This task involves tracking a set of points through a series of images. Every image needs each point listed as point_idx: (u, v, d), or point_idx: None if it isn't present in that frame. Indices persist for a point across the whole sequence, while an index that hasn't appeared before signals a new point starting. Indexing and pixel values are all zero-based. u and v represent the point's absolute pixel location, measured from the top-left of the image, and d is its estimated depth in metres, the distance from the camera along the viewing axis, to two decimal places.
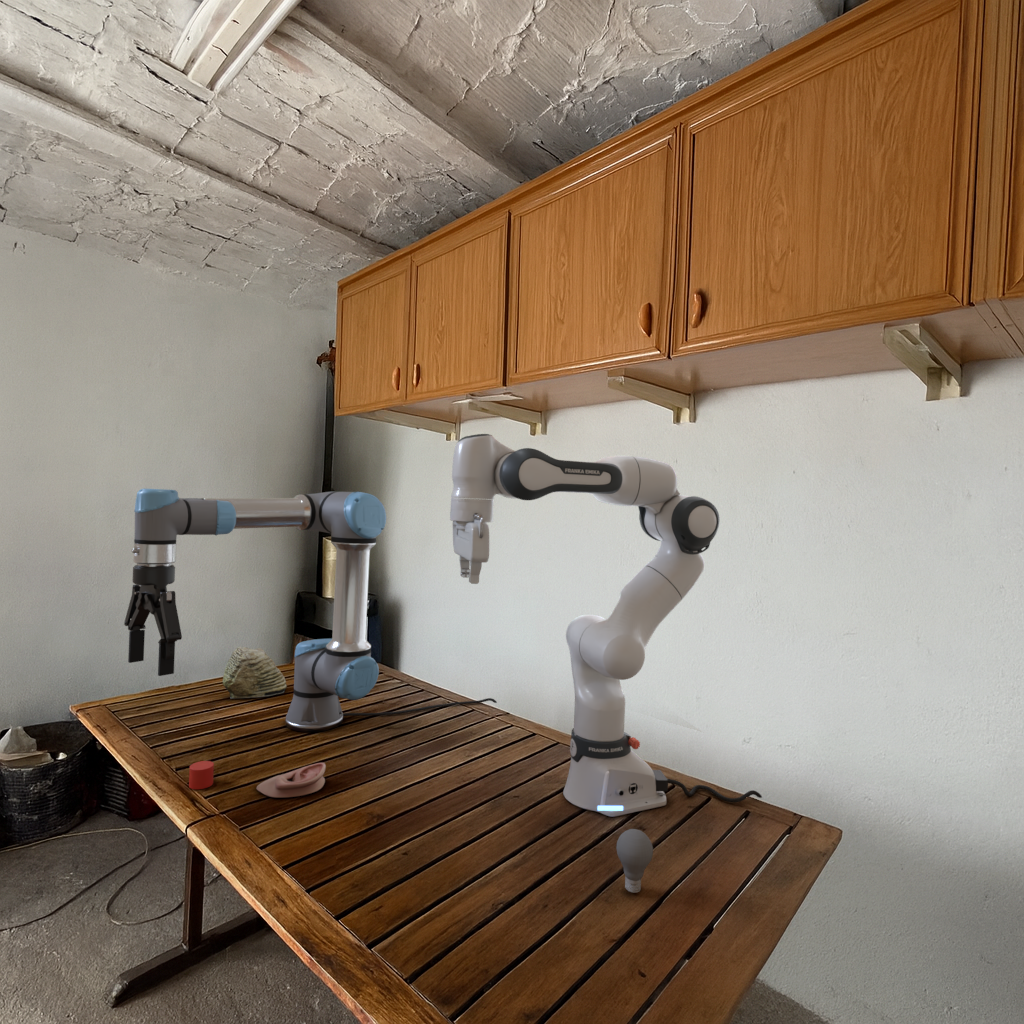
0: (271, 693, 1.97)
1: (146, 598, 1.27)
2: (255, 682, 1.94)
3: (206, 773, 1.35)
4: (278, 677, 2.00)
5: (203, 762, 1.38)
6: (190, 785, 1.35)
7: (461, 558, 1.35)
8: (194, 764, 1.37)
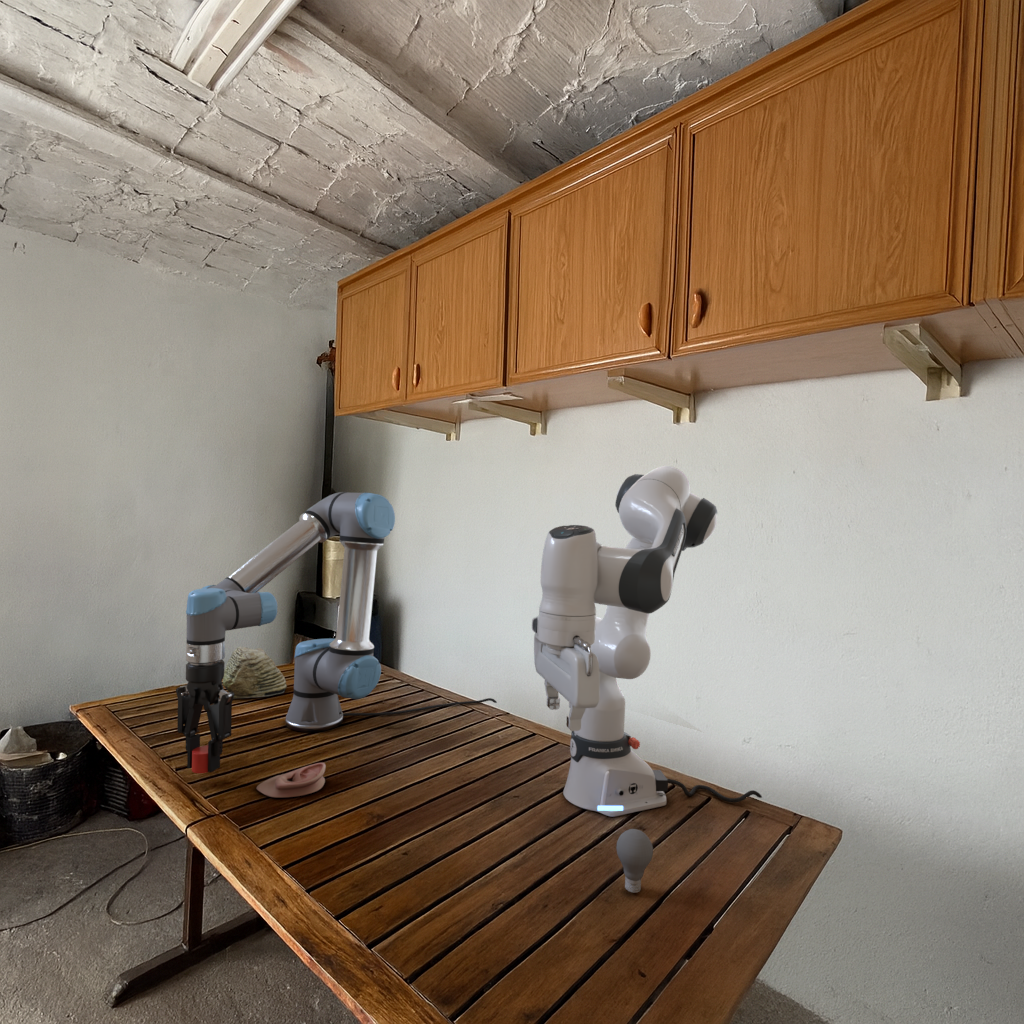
0: (271, 693, 1.97)
1: (203, 695, 1.34)
2: (255, 682, 1.94)
3: None
4: (278, 677, 2.00)
5: (206, 746, 1.39)
6: (193, 769, 1.35)
7: (548, 683, 1.03)
8: (197, 748, 1.37)
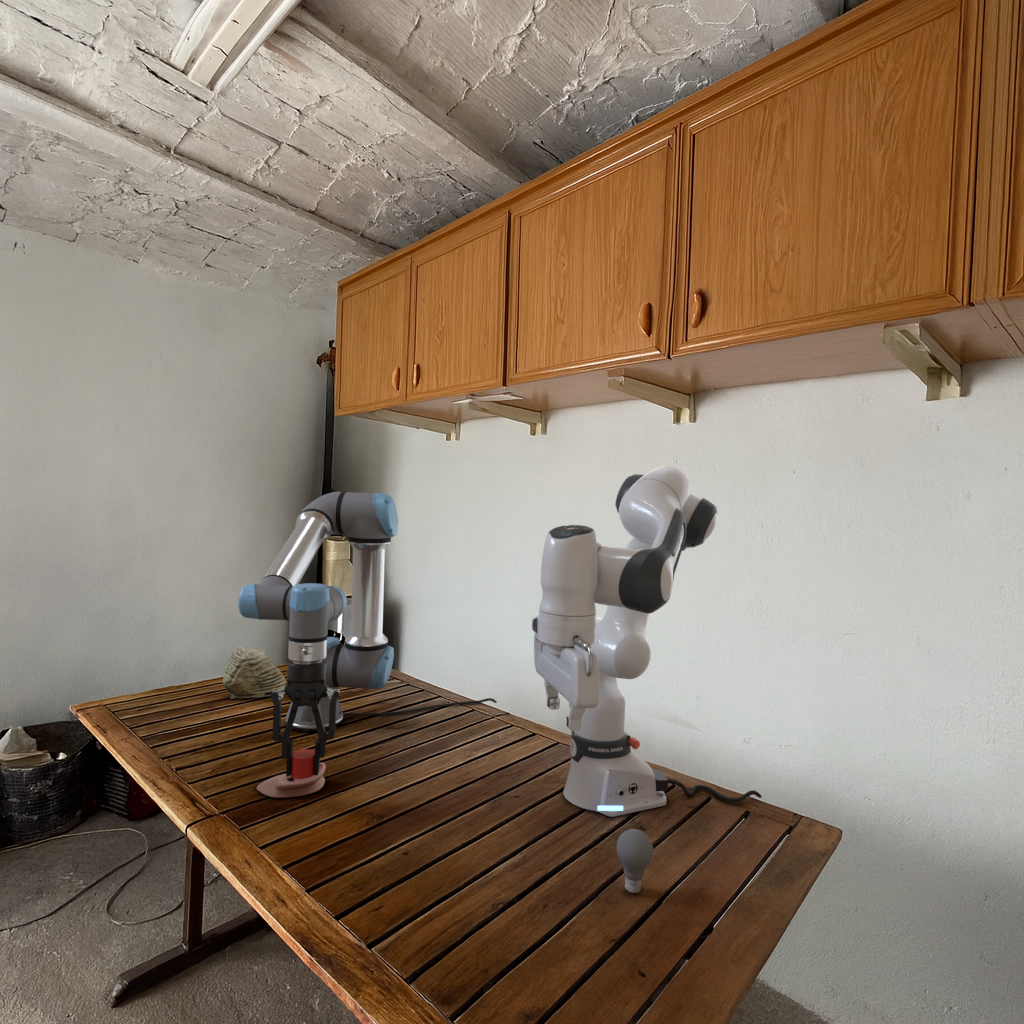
0: (271, 693, 1.97)
1: (312, 694, 1.28)
2: (255, 682, 1.94)
3: (313, 760, 1.29)
4: (278, 677, 2.00)
5: (300, 751, 1.31)
6: (297, 776, 1.28)
7: (548, 683, 1.03)
8: (294, 754, 1.29)
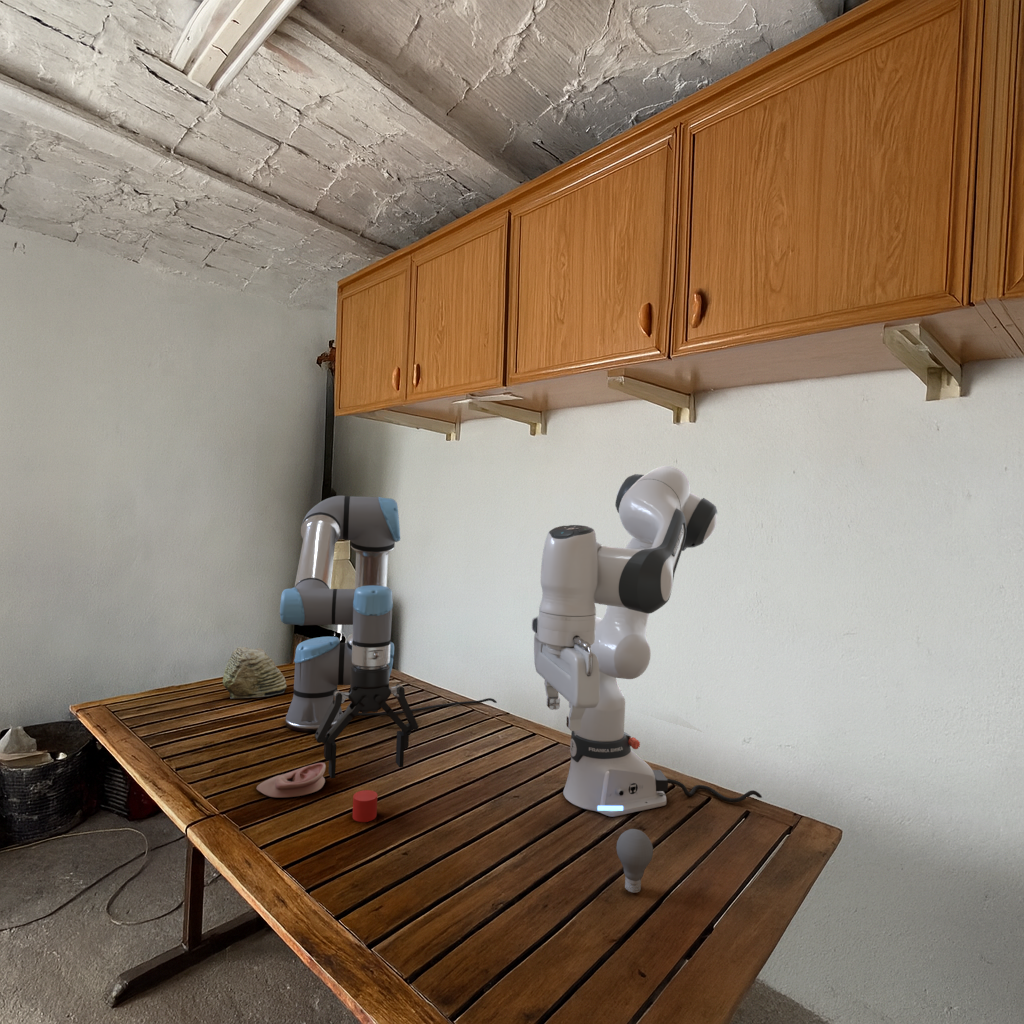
0: (271, 693, 1.97)
1: (379, 699, 1.25)
2: (255, 682, 1.94)
3: None
4: (278, 677, 2.00)
5: (360, 793, 1.27)
6: (363, 819, 1.24)
7: (548, 683, 1.03)
8: (357, 797, 1.25)
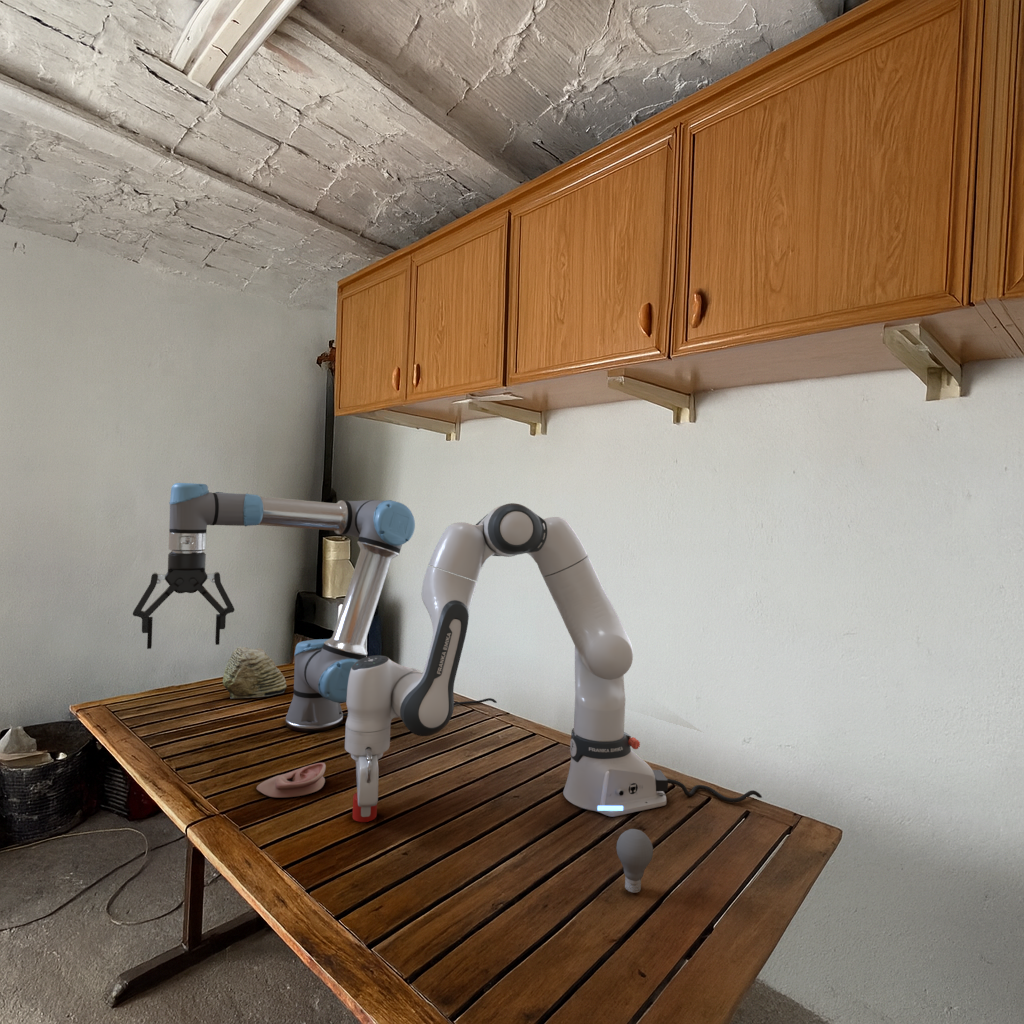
0: (271, 693, 1.97)
1: (194, 581, 1.42)
2: (255, 682, 1.94)
3: None
4: (278, 677, 2.00)
5: None
6: (363, 819, 1.24)
7: None
8: None
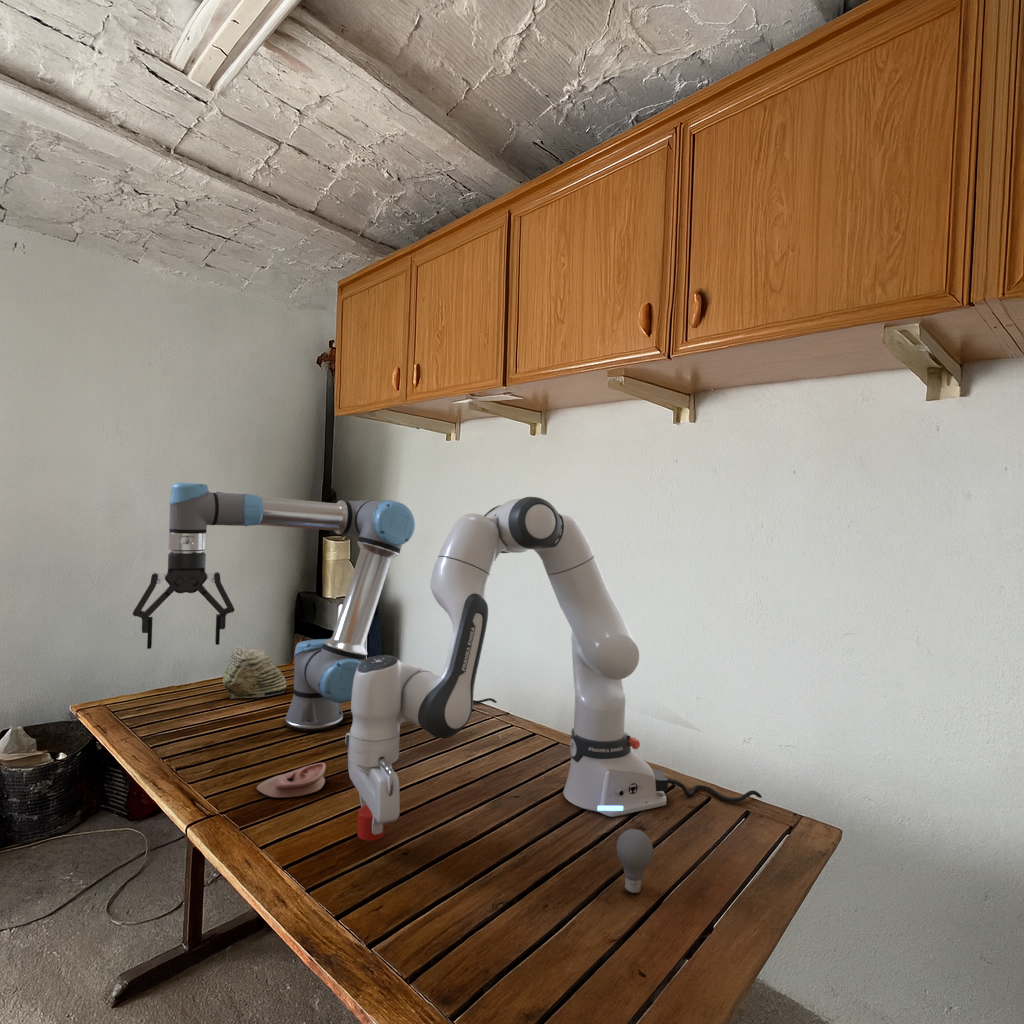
0: (271, 693, 1.97)
1: (194, 581, 1.42)
2: (255, 682, 1.94)
3: None
4: (278, 677, 2.00)
5: (364, 808, 1.15)
6: (373, 837, 1.12)
7: None
8: (363, 814, 1.13)
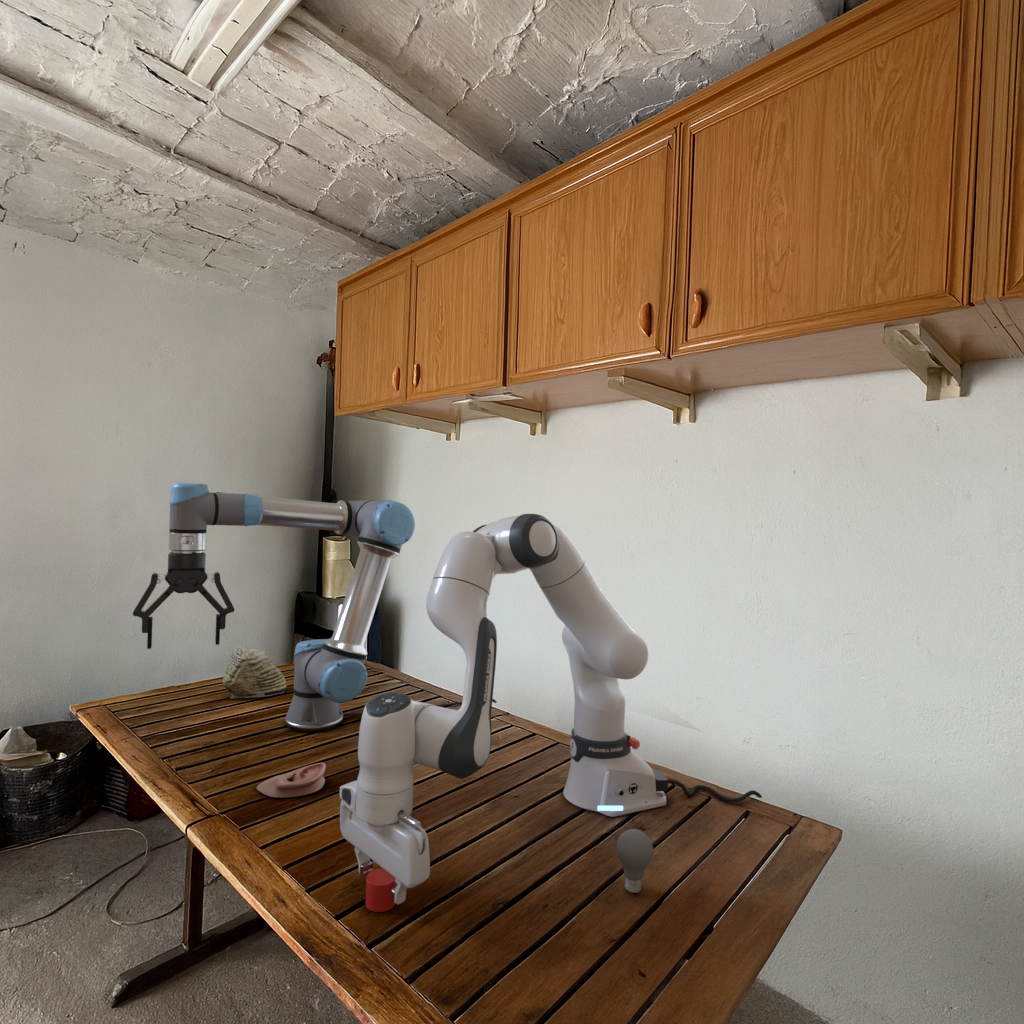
0: (271, 693, 1.97)
1: (194, 581, 1.42)
2: (255, 682, 1.94)
3: None
4: (278, 677, 2.00)
5: (372, 875, 1.00)
6: (388, 906, 0.98)
7: (360, 850, 1.03)
8: (375, 882, 0.98)
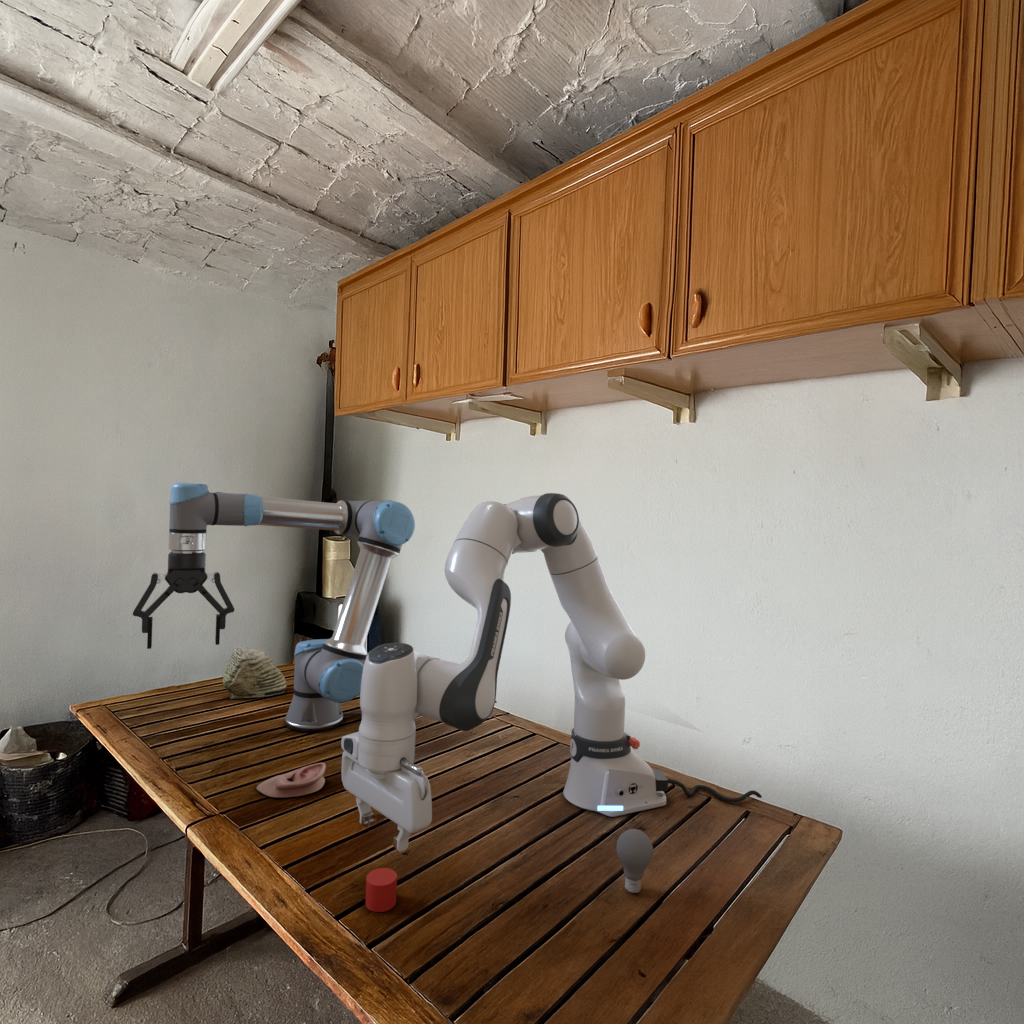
0: (271, 693, 1.97)
1: (194, 581, 1.42)
2: (255, 682, 1.94)
3: None
4: (278, 677, 2.00)
5: (372, 875, 1.00)
6: (388, 906, 0.98)
7: (361, 801, 1.03)
8: (375, 882, 0.98)
